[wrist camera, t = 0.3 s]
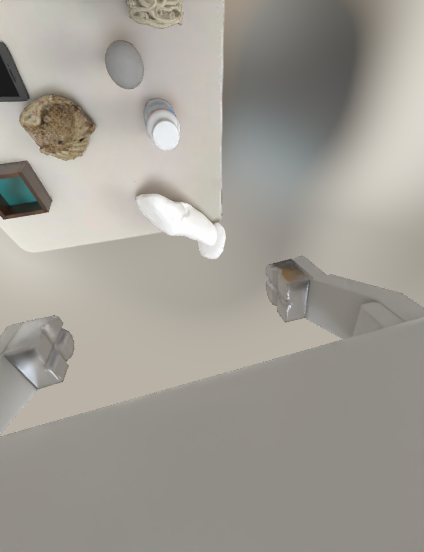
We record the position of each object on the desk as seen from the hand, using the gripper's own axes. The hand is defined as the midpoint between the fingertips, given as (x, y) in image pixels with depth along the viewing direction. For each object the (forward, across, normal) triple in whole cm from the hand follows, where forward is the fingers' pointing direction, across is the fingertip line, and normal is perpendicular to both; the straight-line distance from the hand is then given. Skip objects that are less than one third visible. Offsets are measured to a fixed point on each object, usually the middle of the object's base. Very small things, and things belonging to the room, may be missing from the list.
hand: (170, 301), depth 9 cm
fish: (+50, +1, +20) cm, 54 cm away
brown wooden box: (+53, +30, 0) cm, 61 cm away
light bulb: (+48, +1, -16) cm, 51 cm away
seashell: (+51, +15, -9) cm, 54 cm away
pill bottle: (+51, -3, -8) cm, 52 cm away
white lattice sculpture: (+46, -5, -22) cm, 52 cm away
